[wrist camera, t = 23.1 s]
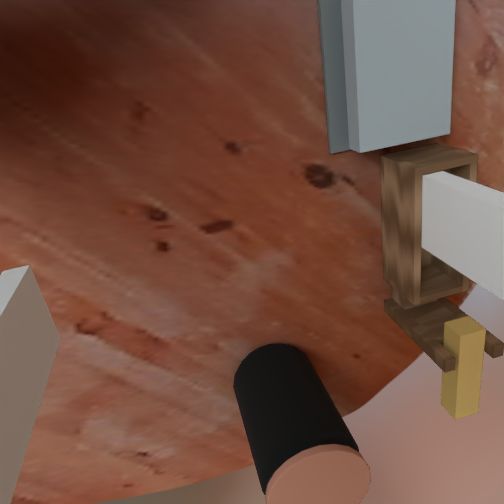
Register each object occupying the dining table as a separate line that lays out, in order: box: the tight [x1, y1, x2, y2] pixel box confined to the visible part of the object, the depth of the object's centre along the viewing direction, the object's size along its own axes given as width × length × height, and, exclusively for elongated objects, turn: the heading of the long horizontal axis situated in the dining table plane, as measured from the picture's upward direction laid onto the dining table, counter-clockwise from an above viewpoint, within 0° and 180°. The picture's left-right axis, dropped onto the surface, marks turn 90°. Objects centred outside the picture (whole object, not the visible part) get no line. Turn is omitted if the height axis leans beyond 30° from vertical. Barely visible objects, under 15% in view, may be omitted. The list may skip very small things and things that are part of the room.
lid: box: [341, 0, 456, 153], centre depth 42 cm, size 16×10×4 cm, turn 9°
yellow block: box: [441, 316, 486, 420], centre depth 49 cm, size 12×3×3 cm, turn 9°
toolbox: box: [380, 143, 504, 373], centre depth 48 cm, size 21×7×13 cm, turn 9°
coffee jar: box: [233, 344, 371, 504], centre depth 49 cm, size 11×11×18 cm
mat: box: [317, 0, 351, 154], centre depth 44 cm, size 17×13×1 cm
